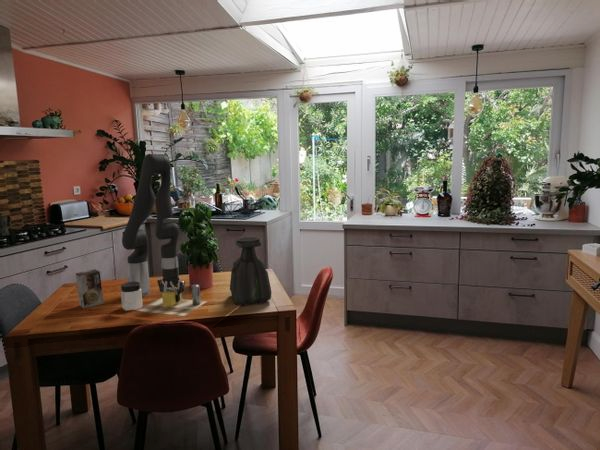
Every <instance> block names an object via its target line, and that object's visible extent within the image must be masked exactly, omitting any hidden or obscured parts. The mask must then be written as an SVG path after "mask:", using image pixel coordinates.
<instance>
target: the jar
mask: <svg viewBox="0 0 600 450" xmlns="http://www.w3.org/2000/svg"><path fill="white" fill-rule="evenodd" d="M120 288H121V289H120V298H121V309H123V310H124V311H134V310H135V311H137V310H139V309H141V308H143V307H144V304H143V296H142V291H141V288H140V283H139V282H128V281H127V282H124V283H122V284H121V285H120Z"/></svg>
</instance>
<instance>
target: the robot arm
mask: <svg viewBox="0 0 600 450" xmlns="http://www.w3.org/2000/svg"><path fill="white" fill-rule="evenodd" d="M171 174H172V173H171V161H170V158H169V157H168V155H165V154H157V153H147V154H146V155H145V156H144V158H143V161H142V165H141V170H140V176H139V182H138V186H137V190H136V194H135V196H134V200H133V203H132V208H131V211H130V214H129V218H128V220H127V223H126V225H125V229H124V231H123V233H122V237H121V244H122V246H123V248H124V249H125V250H126V251H128V250H130V251H131V250H134V251H133V252H131V254H130V255H129V256H127V267H128V276H127V282H139V283H140V288H141V291H142V297H146V296H148V295H150V293H151V289H150V277H149V265H148V257H149V242H148V241H149V239H148V234H147V232H146V231H145V230H144V229H140V228H141V226H142V225H144V222H146V220H147V219H148V218H149V217H150V215H151V214H152V212H153V210H154V207H155V211H156V212H155V213H156V225H155V230H154V234H155V236H156V239H157V240H160V241H161V240H169V241H168V242H166V243H164V244H161V245H160V256H161V259H160V260H161V261H160V264H161V276H162V278H159V279H157V285H158V289H159V292H160V293H163V292H165V291H167V290H168V289H170V288H172V289H173V290H174V292H175V294H176V295H175V299H176V302H179V301H180V294H181V293H184V291H185V284H186V280H181V279H180V278H179V277H180V271H179V267H180V266H179V259H178V252H177V251H178V250H177V249H178V247H177V246H178V240H179V236H180V227H179V225H178V224H177V223H176V222H175V223H174V222H172V223H171V222H170V223H164V221H165V220H169V219H171V218H173V216H174V212H173V206H172V200H171V199H172V198H171V180H172V179H171ZM154 175H160V185H159V188H158V191H157V193H156V195H155V193H154V190H153V188H152V182H151V181H152V177H153V176H154Z"/></svg>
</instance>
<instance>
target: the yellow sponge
mask: <svg viewBox="0 0 600 450" xmlns="http://www.w3.org/2000/svg"><path fill="white" fill-rule="evenodd" d="M175 295H176V294H175V292H174V290H173V289H172V288H169V289H168V290H167V291H165V292H161V296H162V297H161V298H162V299H163V305H164V306H174V305H175V304H177V303H179V302H181V301H182V299H183V295H182V293H181V294H180V301H179V302H176V299H175Z"/></svg>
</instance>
